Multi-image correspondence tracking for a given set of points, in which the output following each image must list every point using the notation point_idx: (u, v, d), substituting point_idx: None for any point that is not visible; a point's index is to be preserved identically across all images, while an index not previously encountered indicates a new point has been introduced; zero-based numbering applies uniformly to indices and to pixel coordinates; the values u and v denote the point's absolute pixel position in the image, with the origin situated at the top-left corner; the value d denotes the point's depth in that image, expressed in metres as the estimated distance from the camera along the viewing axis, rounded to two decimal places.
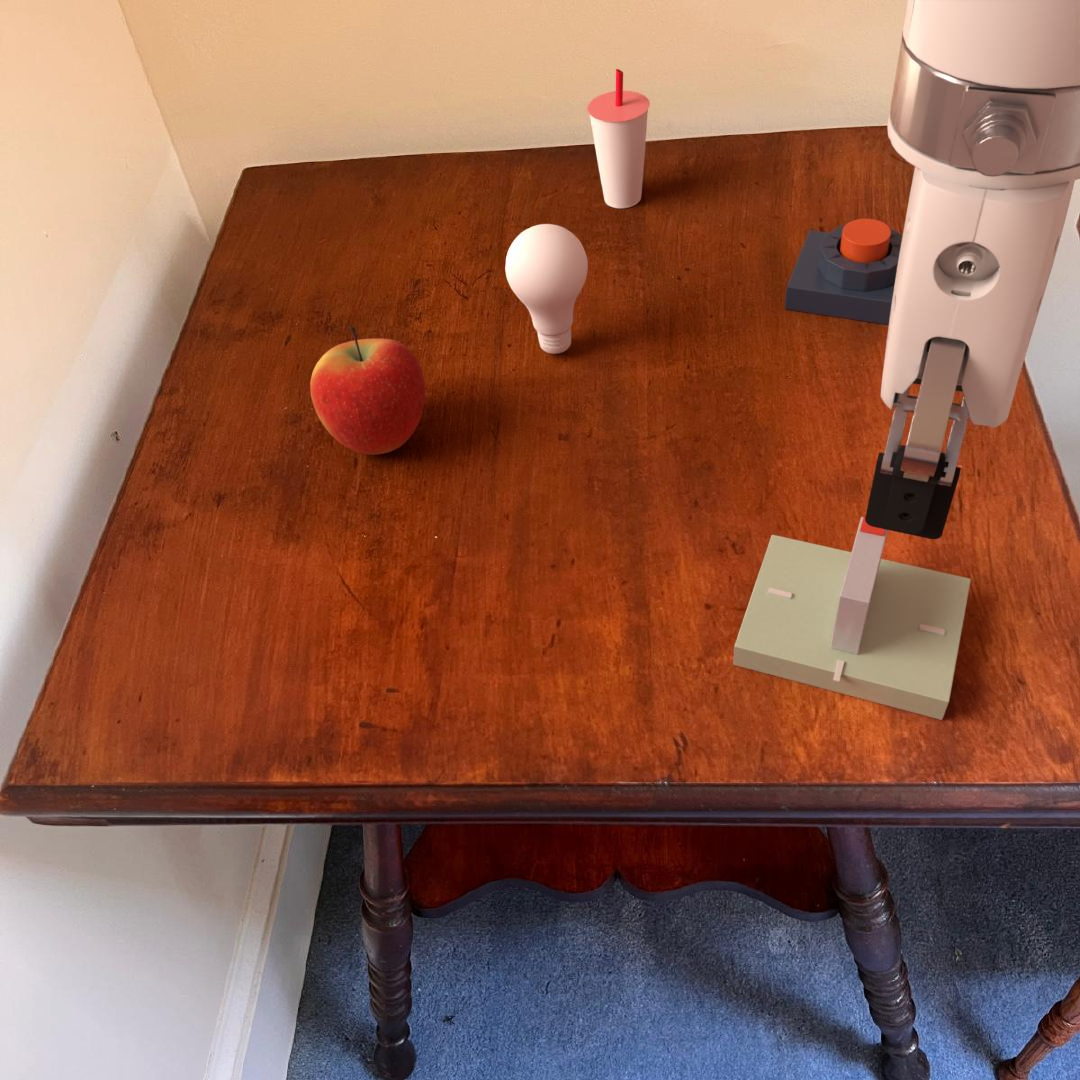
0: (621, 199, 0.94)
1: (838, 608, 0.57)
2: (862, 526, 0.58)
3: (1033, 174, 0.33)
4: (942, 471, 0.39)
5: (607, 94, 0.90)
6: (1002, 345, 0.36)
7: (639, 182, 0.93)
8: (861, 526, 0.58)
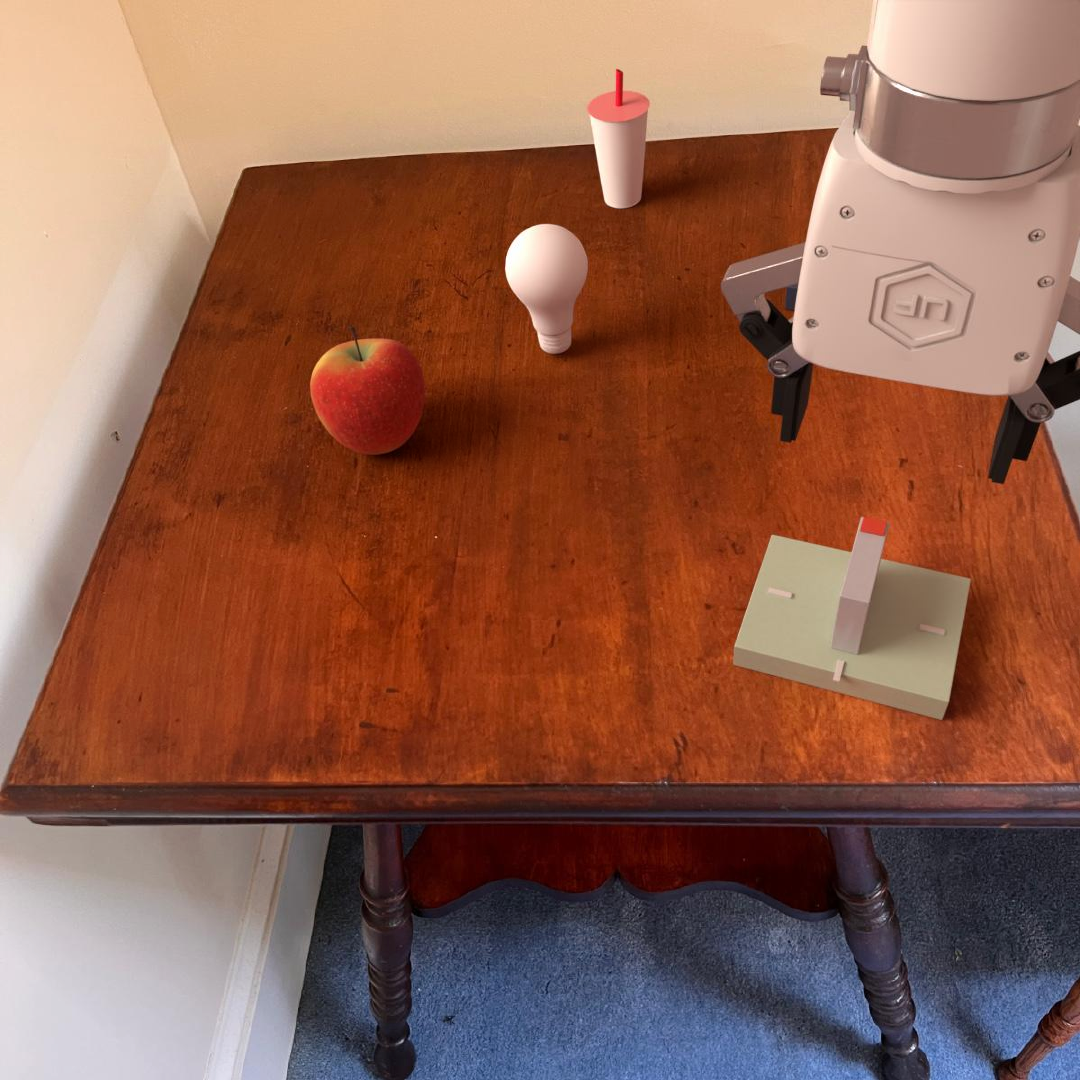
0: (621, 199, 0.94)
1: (838, 608, 0.57)
2: (862, 526, 0.58)
3: (857, 132, 0.38)
4: (747, 327, 0.47)
5: (607, 94, 0.90)
6: (801, 265, 0.43)
7: (639, 182, 0.93)
8: (861, 526, 0.58)
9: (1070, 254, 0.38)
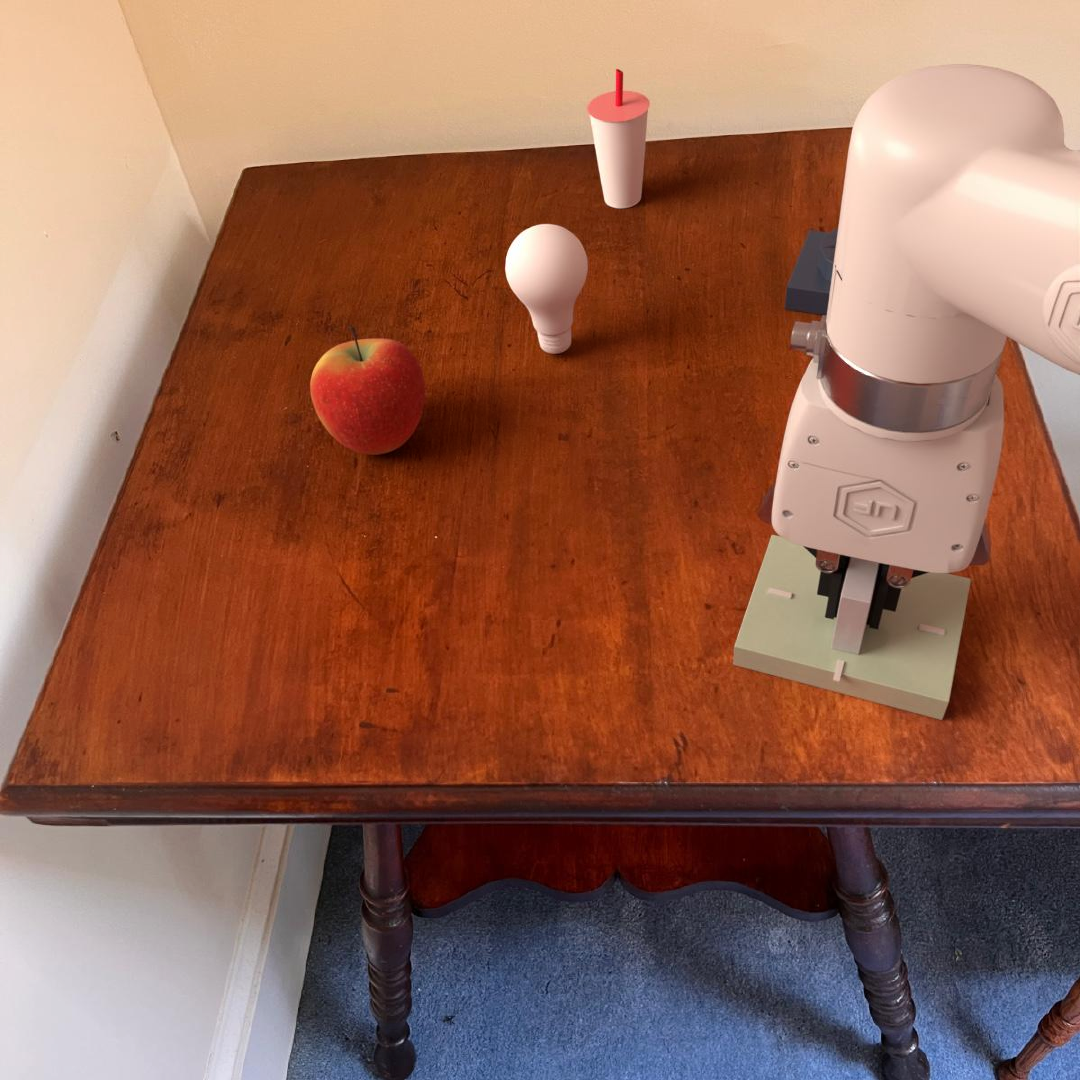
0: (621, 199, 0.94)
1: (839, 608, 0.57)
2: None
3: (820, 381, 0.48)
4: None
5: (607, 94, 0.90)
6: (778, 469, 0.52)
7: (639, 182, 0.93)
8: None
9: (991, 478, 0.47)
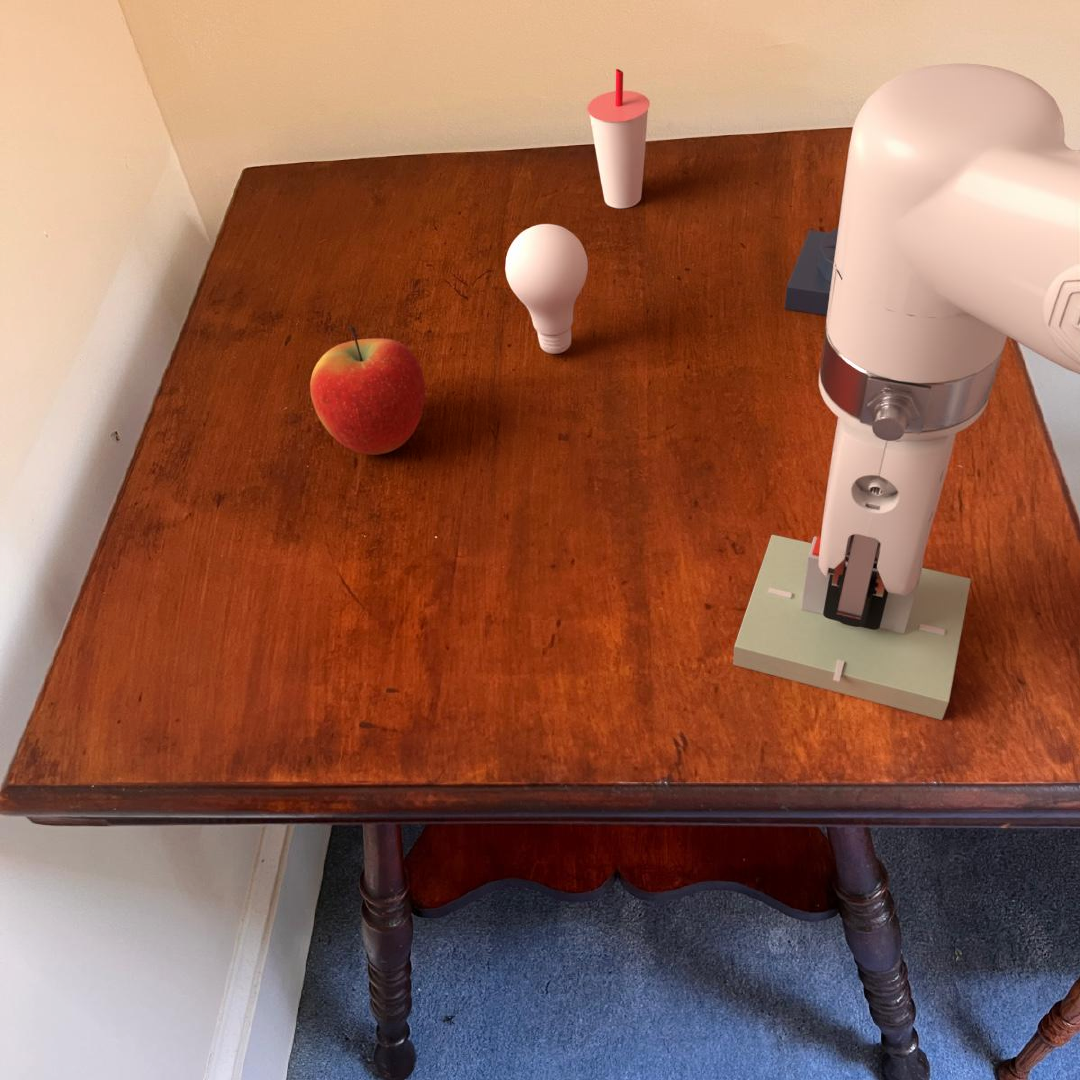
0: (621, 199, 0.94)
1: (915, 593, 0.57)
2: None
3: (920, 432, 0.45)
4: (873, 590, 0.53)
5: (607, 94, 0.90)
6: (905, 543, 0.48)
7: (639, 182, 0.93)
8: None
9: None
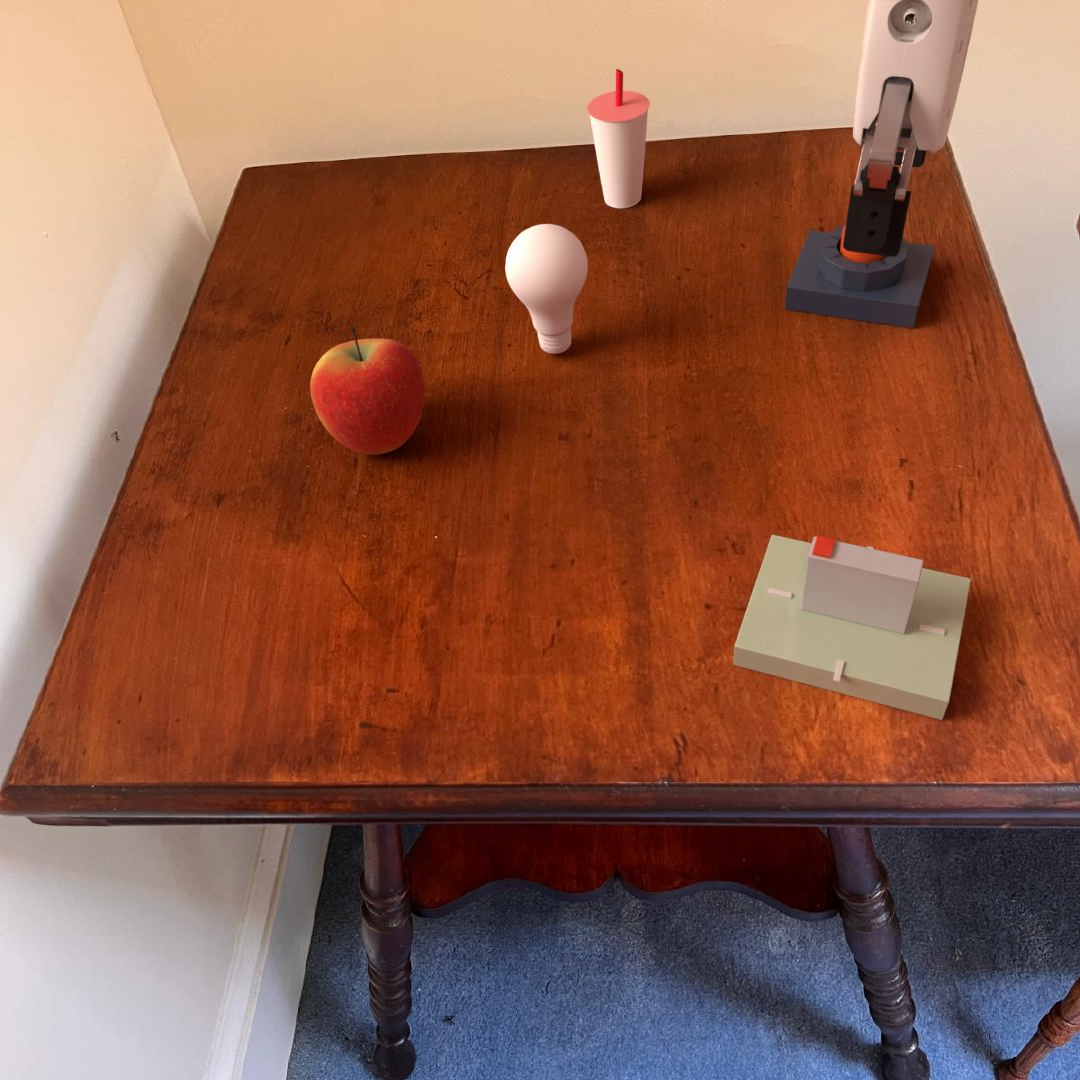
0: (621, 199, 0.94)
1: (915, 593, 0.57)
2: (826, 554, 0.57)
3: None
4: (896, 179, 0.54)
5: (607, 94, 0.90)
6: (936, 78, 0.52)
7: (639, 182, 0.93)
8: (825, 555, 0.57)
9: None
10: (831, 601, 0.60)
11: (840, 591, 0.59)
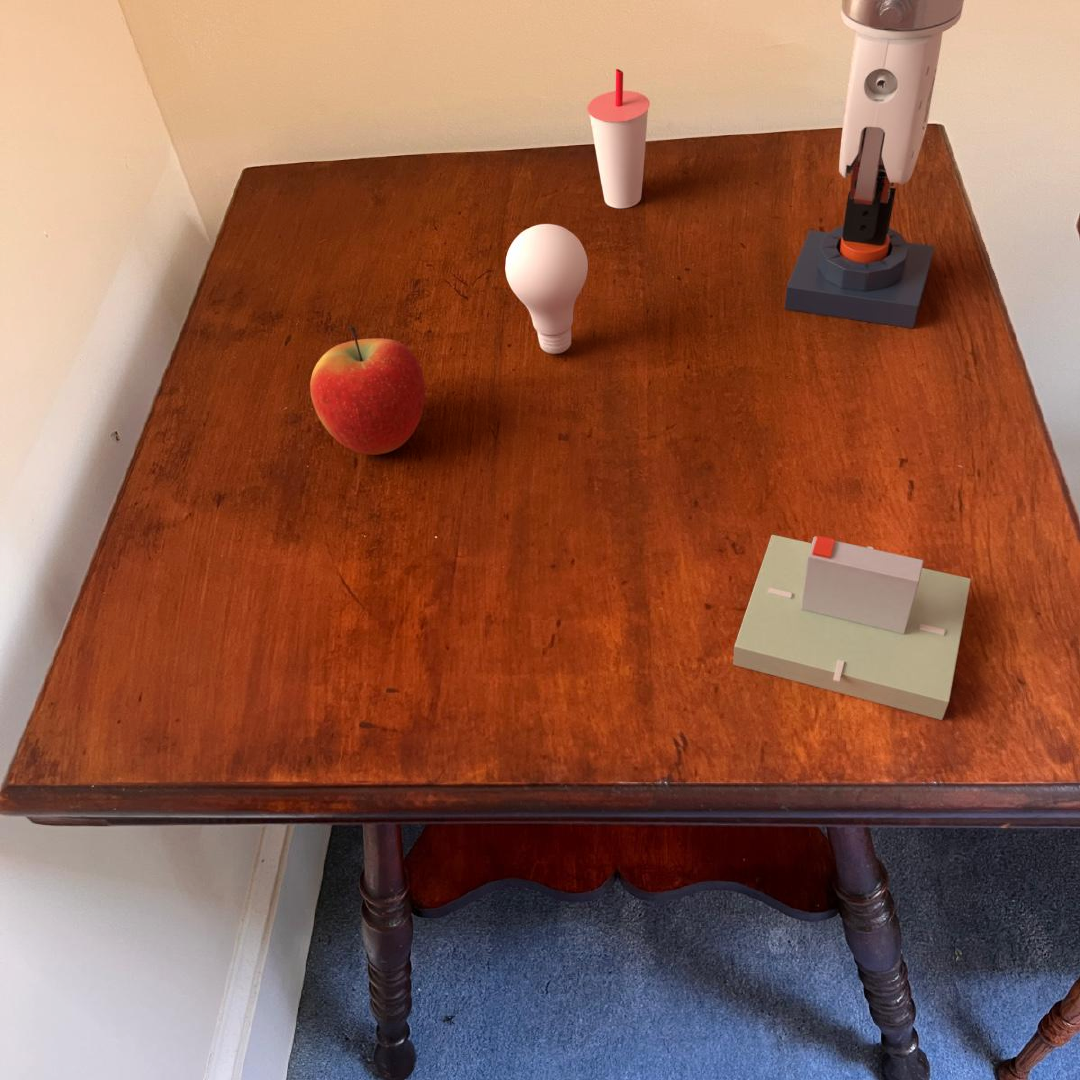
0: (621, 199, 0.94)
1: (915, 593, 0.57)
2: (826, 554, 0.57)
3: (912, 30, 0.64)
4: (880, 187, 0.73)
5: (607, 94, 0.90)
6: (901, 129, 0.68)
7: (639, 182, 0.93)
8: (825, 555, 0.57)
9: None
10: (831, 601, 0.60)
11: (840, 591, 0.59)
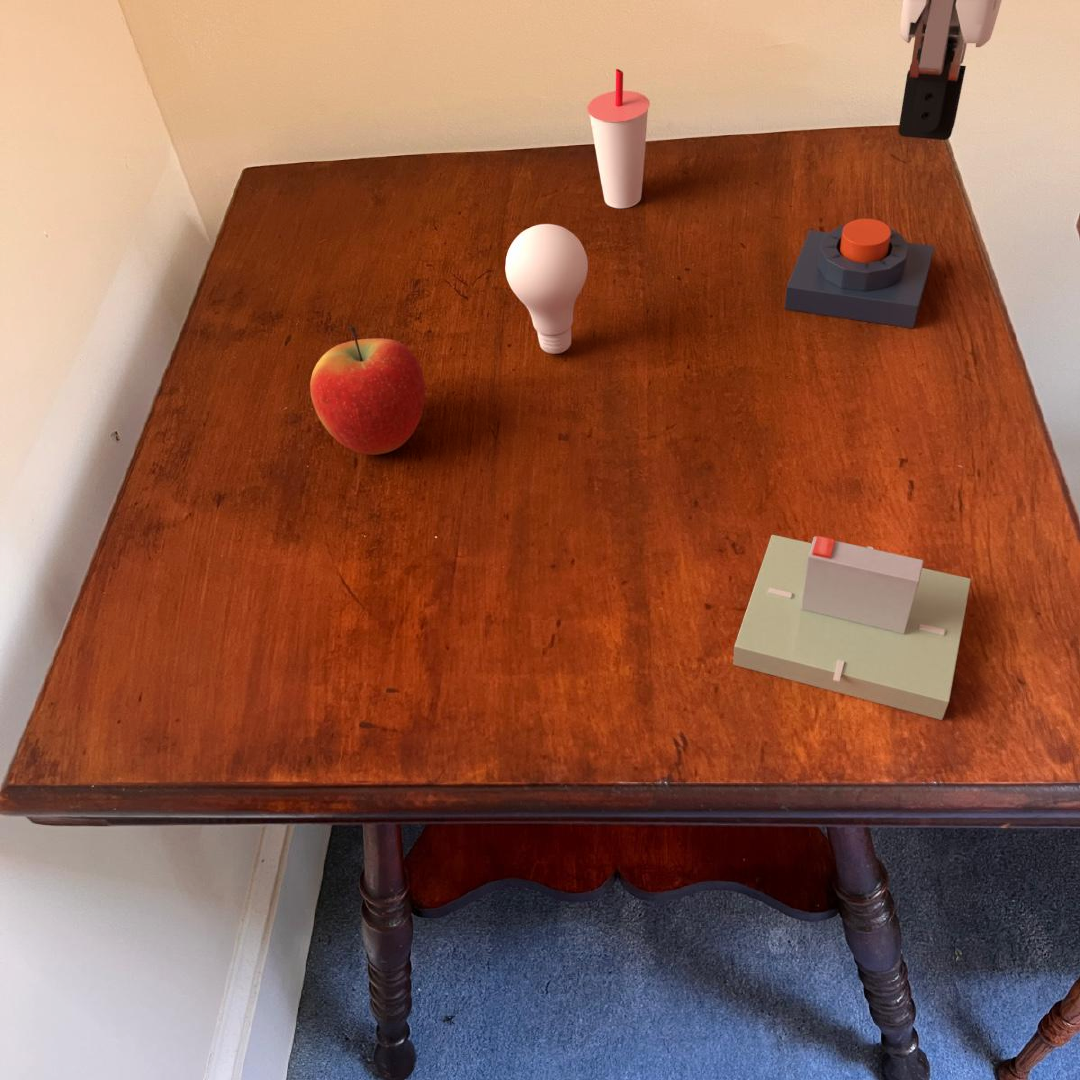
0: (621, 199, 0.94)
1: (915, 593, 0.57)
2: (826, 554, 0.57)
3: None
4: (951, 56, 0.59)
5: (607, 94, 0.90)
6: None
7: (639, 182, 0.93)
8: (825, 555, 0.57)
9: None
10: (831, 601, 0.60)
11: (840, 591, 0.59)
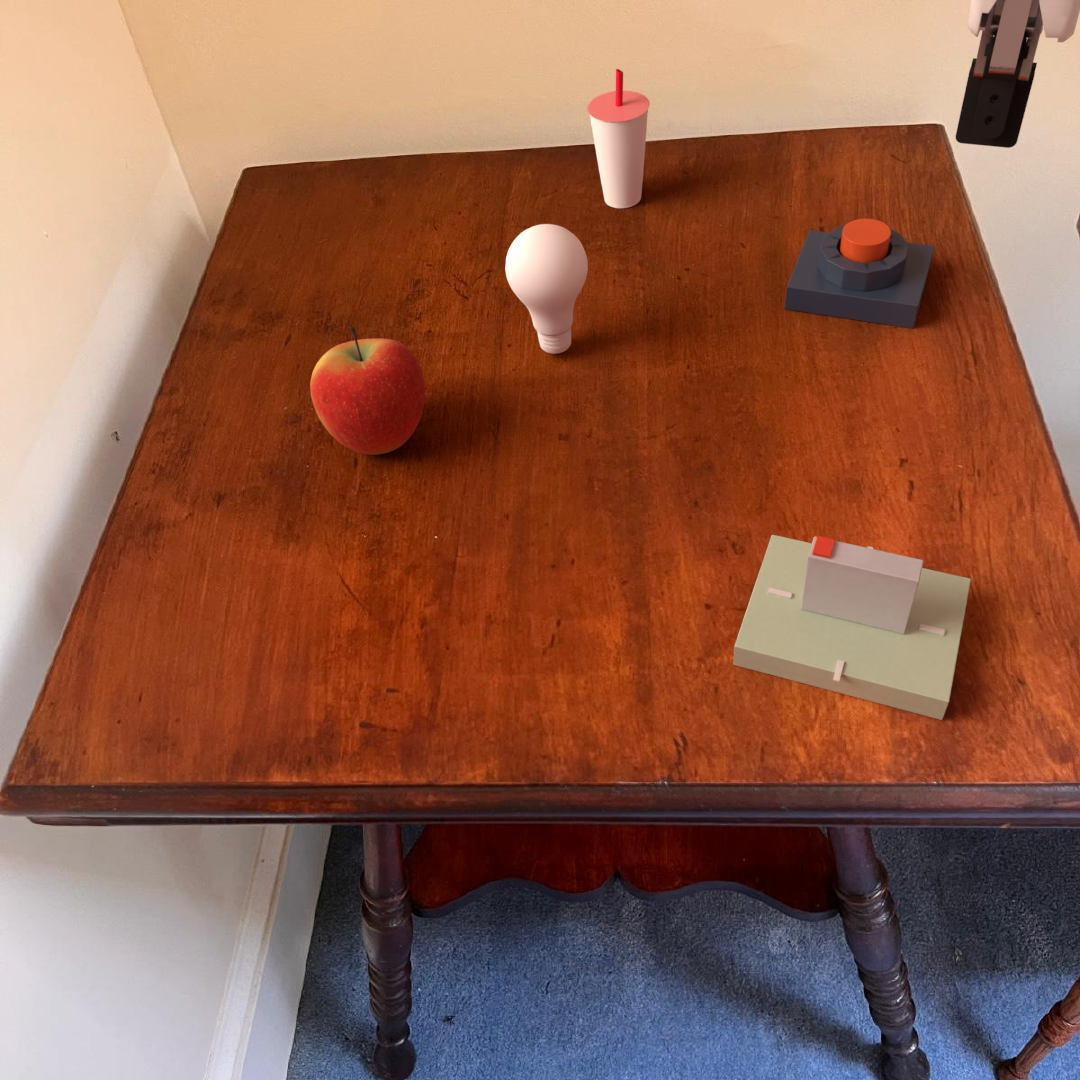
0: (621, 199, 0.94)
1: (915, 593, 0.57)
2: (826, 554, 0.57)
3: None
4: (1025, 52, 0.51)
5: (607, 94, 0.90)
6: None
7: (639, 182, 0.93)
8: (825, 555, 0.57)
9: None
10: (831, 601, 0.60)
11: (840, 591, 0.59)
